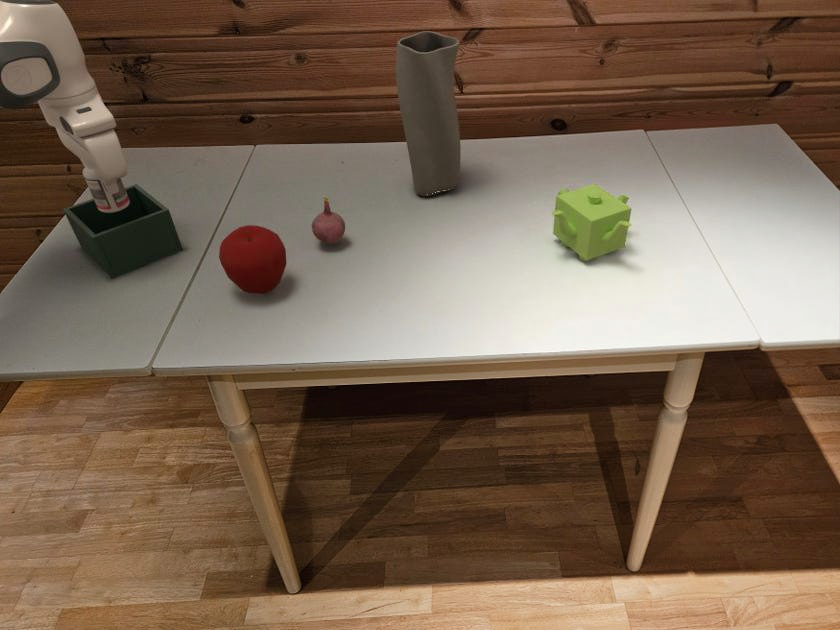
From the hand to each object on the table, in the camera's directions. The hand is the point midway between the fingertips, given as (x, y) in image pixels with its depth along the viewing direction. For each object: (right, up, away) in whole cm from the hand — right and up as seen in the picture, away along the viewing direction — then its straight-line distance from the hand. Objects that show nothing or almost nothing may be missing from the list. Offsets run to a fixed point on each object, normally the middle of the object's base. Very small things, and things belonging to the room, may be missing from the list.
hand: (105, 185), depth 115 cm
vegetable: (+37, -9, +11) cm, 40 cm away
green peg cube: (+86, -9, +10) cm, 87 cm away
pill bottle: (0, -3, +3) cm, 4 cm away
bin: (0, -10, +9) cm, 13 cm away
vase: (+56, +7, +27) cm, 63 cm away
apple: (+28, -18, 0) cm, 33 cm away
